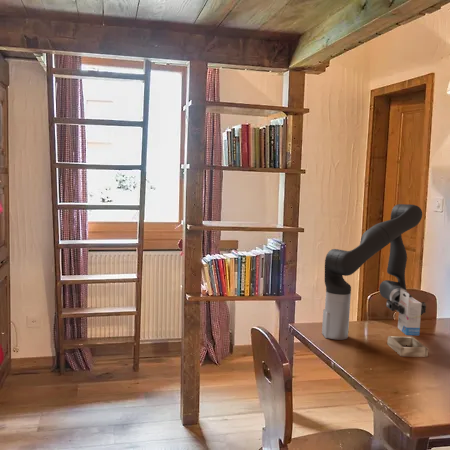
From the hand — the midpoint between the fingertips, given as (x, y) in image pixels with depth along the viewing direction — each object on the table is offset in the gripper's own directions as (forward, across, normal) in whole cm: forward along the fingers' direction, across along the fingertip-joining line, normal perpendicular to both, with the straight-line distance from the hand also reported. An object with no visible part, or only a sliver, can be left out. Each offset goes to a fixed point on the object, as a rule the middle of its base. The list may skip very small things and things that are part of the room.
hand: (411, 311), depth 176 cm
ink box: (-3, 0, +8) cm, 9 cm away
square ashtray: (-2, 0, +15) cm, 15 cm away
